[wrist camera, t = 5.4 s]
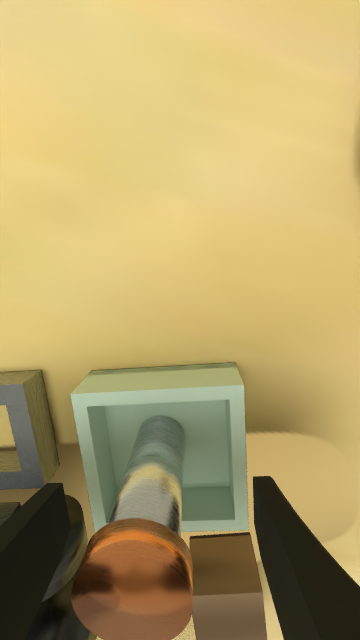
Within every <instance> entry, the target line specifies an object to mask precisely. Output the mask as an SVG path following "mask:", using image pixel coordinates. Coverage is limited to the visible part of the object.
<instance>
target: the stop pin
mask: <svg viewBox="0 0 360 640" xmlns="http://www.w3.org/2000/svg"><path fill="white" fill-rule="evenodd" d="M184 453H185V432H184V429H183V427H182V426H181V424H180V423H179V422H178V421H176V420H175V419H173V418H171V417H169V416H164V415H157V416H152V417H150V418H148V419H146V420H145V421H144V422H143V423H142V424H141V426H140V428H139V430H138V433H137V437H136V440H135V443H134V446H133V449H132V452H131V455H130V458H129V462H128V465H127V468H126V471H125V474H124V477H123V480H122V483H121V487H120V490H119V493H118V496H117V499H116V502H115V505H114V508H113V512H112V515H111V518H110V521H109V524H107V525H105V526H104V527H102V528H100V529H99V530H98V531H97V532H96V533H95V534H94V535H93V536H92V538H91V539H90V541H89V543H88V546H87V548H86V551H85V554H84V556H83V559H82V562H81V564H80V567H79V570H78V573H77V575H76V578H75V581H74V583H73V586H72V591H71V600H72V605H73V608H74V611H75V613H76V615H77V617H78V618H79V620H80V621H81V622H82V623H83V625H84V626H85V627H86V628H87V629H88V630H90V631H91V632H92V633H94V634H95V635H97V636H98V637H100V638H102V639H104V640H171V639H173V638H175V637H176V636H177V635H179V634H180V633H181V632H182V631H183V630H184V629H185V627H186V626H187V624H188V622H189V621H190V618H191V615H192V609H193V561H192V556H191V553H190V550H189V548H188V547H187V545H186V543H185V542H184V540H183V539H182V538H181V516H182V495H183V474H184Z"/></svg>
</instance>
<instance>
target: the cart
mask: <svg viewBox="0 0 360 640" xmlns="http://www.w3.org/2000/svg"><path fill="white" fill-rule="evenodd" d="M65 499H66V504H67V509H68V514H69V519H70V524H71V529H70V532H69V535H68V538H67V541H66V545H65V548H64V550H63V553H62V556H61V559H60V562H59V564H58V566H57V569H56V571H55V573H54V575H53V578H52V580H51V582H50V584H49V587H48V589H47V591H46V593H45V596H44V598H43V600H42V602H41V605H40V607H39V609H38V611H37V614H36V616H35V618H34V620H33V622H32V625H31V627H30V629H29V631H28V634H27V636H26V638H25V640H95V639H96V637H97V635H95V634H94V633H92V632H91V631H90V630H88V629H87V628H86V627H85V626H84V625H83V623H82V622H81V621H80V620H79V618H78V617H77V615H76V613H75V611H74V608H73V605H72V600H71V591H72V586H73V583H74V581H75V578H76V575H77V573H78V570H79V567H80V564H81V562H82V559H83V556H84V554H85V551H86V548H87V533H86V527H85V522H84V517H83V511H82V508H81V505H80V504H79V502H78V501H77V500H76V499H75V498H73V497H71V496H69V495H65ZM20 507H21V505H20V502H15V503H0V525H1V524H3V523H4V522H5V521H6V520H7V519H8V518H9V517H10V516H11V515H13V514H14V513H15V512H16V511H17V510H18V509H19V508H20Z"/></svg>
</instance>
